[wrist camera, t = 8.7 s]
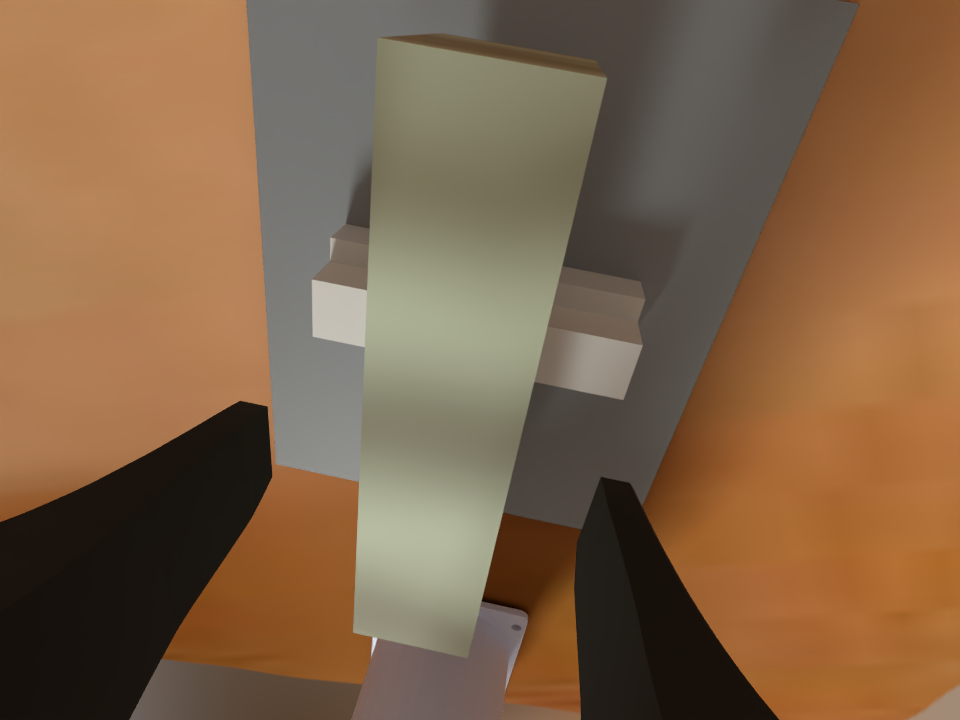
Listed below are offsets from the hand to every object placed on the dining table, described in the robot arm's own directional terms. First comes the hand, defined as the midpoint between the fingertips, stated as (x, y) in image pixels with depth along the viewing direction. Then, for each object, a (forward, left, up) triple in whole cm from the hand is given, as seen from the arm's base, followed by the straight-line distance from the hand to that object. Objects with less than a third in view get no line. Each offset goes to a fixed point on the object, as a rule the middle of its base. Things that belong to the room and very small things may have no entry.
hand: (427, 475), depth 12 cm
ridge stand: (0, 0, -10) cm, 10 cm away
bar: (0, 0, -6) cm, 6 cm away
